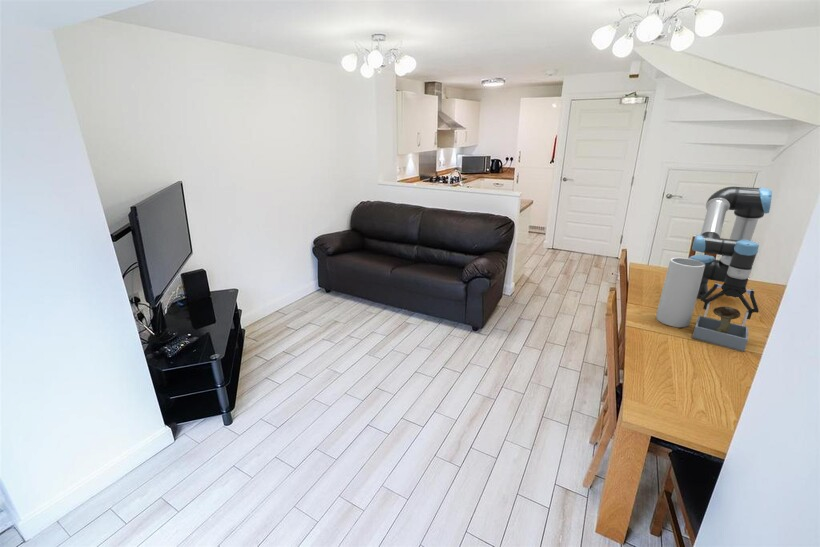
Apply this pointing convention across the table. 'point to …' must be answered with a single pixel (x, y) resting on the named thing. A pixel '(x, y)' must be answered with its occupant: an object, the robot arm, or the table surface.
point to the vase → (680, 291)
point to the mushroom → (726, 317)
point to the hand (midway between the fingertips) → (723, 320)
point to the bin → (732, 339)
